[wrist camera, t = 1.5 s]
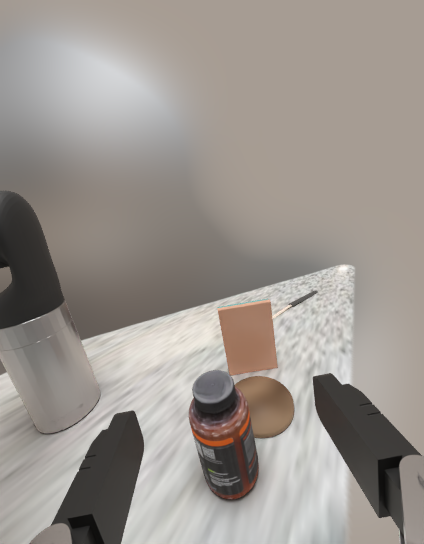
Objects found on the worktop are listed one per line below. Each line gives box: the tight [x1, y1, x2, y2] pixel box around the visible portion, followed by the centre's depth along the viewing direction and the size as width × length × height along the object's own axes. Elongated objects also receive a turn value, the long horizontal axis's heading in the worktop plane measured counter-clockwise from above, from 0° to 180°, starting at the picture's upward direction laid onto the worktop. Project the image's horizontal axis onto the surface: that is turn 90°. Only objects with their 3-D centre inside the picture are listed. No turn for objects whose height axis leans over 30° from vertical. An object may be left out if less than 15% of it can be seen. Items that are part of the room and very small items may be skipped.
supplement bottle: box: [189, 370, 258, 499], centre depth 23 cm, size 6×6×11 cm
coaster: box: [234, 376, 294, 438], centre depth 31 cm, size 9×9×1 cm
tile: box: [218, 299, 278, 375], centre depth 36 cm, size 1×8×12 cm, turn 92°
